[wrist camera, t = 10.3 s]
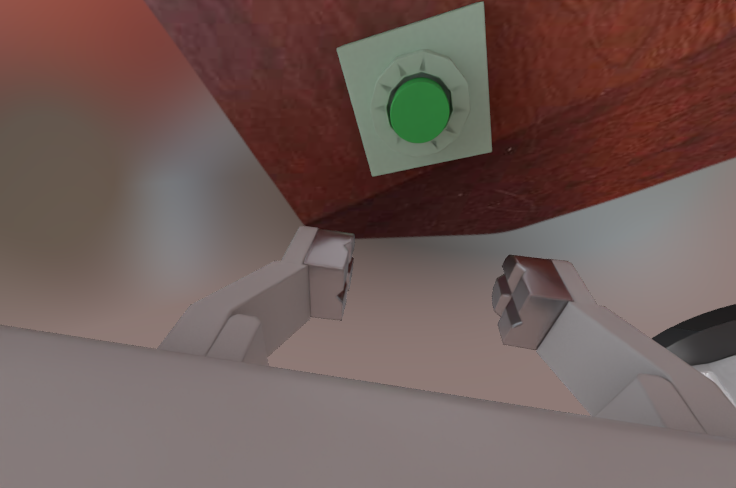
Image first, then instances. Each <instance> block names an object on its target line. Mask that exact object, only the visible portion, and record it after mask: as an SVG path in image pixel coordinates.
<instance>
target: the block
mask: <svg viewBox="0 0 736 488" xmlns="http://www.w3.org/2000/svg"><path fill="white" fill-rule="evenodd" d="M337 52H338V56H339V60H340V63H341V67H342V70H343V74H344V77H345V81H346V85H347V88H348V92H349V95H350V99H351V102H352V106H353V109H354V113H355V117H356V120H357V124H358V127H359V131H360V134H361V138H362V142H363V145H364V149H365V152H366V156H367V159H368V163H369V166H370V170H371V174H372V176H378V175H383V174H387V173H392V172H397V171H402V170H407V169H412V168H416V167H421V166H426V165H431V164H436V163H441V162H446V161H450V160H455V159H460V158H465V157H470V156H475V155H479V154H484V153H489V152H492V142H491V124H490V105H489V87H488V68H487V50H486V31H485V13H484V2H477V3H473V4H470V5H467V6H464V7H461V8H458V9H455V10H452V11H448V12H445V13H442V14H439V15H436V16H433V17H430V18H427V19H423V20H420V21H417V22H414V23H411V24H408V25H405V26H402V27H399V28H395V29H392V30H389V31H386V32H383V33H380V34H377V35H374V36H370V37H367V38H364V39H361V40H358V41H355V42H352V43H349V44H345V45H342V46H340V47H338V48H337ZM420 77H423V78H429V79H432V80H434V81H435V82H437V83H438V84H439V85H440V86H441V87H442V88H443V90H444V91H445V93H446V96H447V99H448V102H449V106H450V114H449V119H448V122H447V125H446V127H445V128H444V130H443V131H442V132H441V133H440V134H439V135H438V136H437V137H436V138H434V139H433V140H431V141H428V142H425V143H411V142H408V141H405V140H404V139H402V138H401V137H400V136H399V135H397V133H396V132H395V130H394V129H393V127H392V124H391V120H390V109H391V104H392V100H393V97H394V95H395V93H396V92H397V90H398V89H399V88H400V86H402V85H403V84H404V83H405V82H407V81H409V80H411V79H414V78H420Z"/></svg>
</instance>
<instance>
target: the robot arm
mask: <svg viewBox="0 0 736 488" xmlns="http://www.w3.org/2000/svg"><path fill="white" fill-rule="evenodd" d="M354 245H355V234H354V233H348V232H342V231H335V230H329V229H322V228H316V227H308V226H301V227H299V228H298V230H297V232H296V234H295V236H294V237H293V239H292V241H291V243H290V245H289V247H288V249H287V251H286V252H285V254H284V256H283V258H282V260H281V261H274V262H272V263H270V264H268V265H266V266H264V267H262V268H260V269H258V270H256V271H255V272H252V273H251V274H249V275H247V276H245V277H243V278H241V279H239V280H237V281H235V282H234V283H231V284H230V285H228V286H226V287H224V288H222V289H220V290H218V291H216V292H214V293H212V294H210V295H209V296H207V297H205V298H203V299H201V300H199V301H197V302H195V303H193V304H191V305H190V306H189V308H188V309H187V310H186V311H185V313H184V314H183V316H182V317H181V318H180V319H179V321H178V322H177V323H176V325H175V326H174V327H173V329H172V330H171V331H170V333H169V334H168V335H167V337H166V338H165V339H164V340H163V342H162V343H161V344H160V346H159V347H158V348H157V349H154V348H147V347H141V346H134V345H128V344H122V343H115V342H109V341H102V340H95V339H89V338H82V337H76V336H70V335H63V334H57V333H50V332H44V331H37V330H31V329H24V328H18V327H12V326H5V325H0V488H736V355H734V356H731V357H728V358H725V359H721V360H718V361H715V362H712V363H708V364H701V365H694V366H690V365H689V364H687V363H686V362H684V361H683V360H682V359H680V358H679V357H677V356H676V355H674V354H673V353H671V352H670V351H669V350H667V349H666V348H664V347H663V346H661V345H660V344H658V343H657V342H655V341H654V340H653V339H651V338H650V337H648V336H647V335H645V334H644V333H642V332H641V331H640V330H638V329H637V328H635V327H634V326H632V325H631V324H629V323H628V322H627V321H625V320H623V319H622V318H621V317H619V316H618V315H616V314H615V313H613V312H612V311H611V310H609V309H607V308H606V307H605V306H599V305H597V303H596V301H595V300H594V298H593V297H592V295H591V293H590V292H589V290H588V289H587V287H586V285H585V284H584V282H583V281H582V279H581V278H580V276H579V274H578V273H577V271H576V269H575V268H574V266H573V265H572V264H571V263H570V262H568V261H562V260H553V259H541V258H532V257H524V256H516V255H508V257H507V258H506V259H505V261H504V263H503V266H502V267H503V270H504V274H503V275H501V276H500V277H498V278H497V279H496V282H495V285H494V287H493V293H492V304H493V308H494V311H495V312H496V313H497V314H498V315H499V316H500V317H501V318H500V320H499V322H498V327H499V331H500V335H501V338H502V342H503V344H504V345H509V346H516V347H521V348H527V349H533V350H537V351H536V352H537V353H538V355H539V356H540V357H541V358H542V359H543V360H544V362H545V363H546V364H547V365H548V366H549V367H550V368H551V369H552V371H553V372H554V373H555V374H556V375H557V377H558V378H559V379H560V380H561V381H562V382H563V383H564V385H565V386H566V387H567V388H568V389H569V390H570V392H571V393H572V394H573V395H574V396H575V397H576V398H577V399H578V401H579V402H580V403H581V404H582V405H583V407H584V408H585V409H586V410H587V411H588V412H589V413H590V415H591V416H586V415H579V414H573V413H567V412H560V411H554V410H547V409H541V408H534V407H528V406H521V405H515V404H508V403H502V402H496V401H489V400H482V399H476V398H469V397H463V396H457V395H451V394H444V393H437V392H431V391H425V390H418V389H412V388H405V387H399V386H393V385H386V384H380V383H373V382H367V381H361V380H354V379H347V378H341V377H334V376H328V375H322V374H315V373H309V372H302V371H296V370H290V369H283V368H277V367H270V366H269V364H268V359H267V357H268V356H270V355H271V354H272V353H273V352H274V351H275V350H276V349H277V348H278V347H280V345H282V344H283V343H284V342H285V341H286V340H287V339H288V338H290V337H291V336H292V335H293V334H294V333H295V332H296V331H297V330H298V329H299V328H301V327H302V326H303V325H304V324H305V323H306V322H307V321H308V320H309V319H310V317H315V318H323V319H332V320H340V321H342V317H343V312H344V309H345V305H346V295H347V291H349V287H350V283H351V277H352V270H353V257H352V254H353V250H354Z"/></svg>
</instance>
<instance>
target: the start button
mask: <svg viewBox="0 0 736 488" xmlns="http://www.w3.org/2000/svg"><path fill="white" fill-rule="evenodd" d="M449 114H450V106H449V102H448V99H447V96H446V93H445V91H444V90H443V88H442V87H441V86H440V85H439V84H438V83H437V82H435V81H434V80H432V79H429V78H423V77H420V78H414V79H411V80H409V81H407V82H405V83H404V84H403V85H402V86H400V88H399V89H398V90H397V92H396V93H395V95H394V97H393V100H392V104H391V109H390V120H391V124H392V127H393V129H394V130H395V132H396V133H397V135H399V136H400V137H401V138H402V139H404V140H405V141H408V142H411V143H425V142H428V141H431V140H433V139H434V138H436V137H437V136H438V135H439V134H440V133H441V132H442V131H443V130H444V128H445V127H446V125H447V122H448V119H449Z"/></svg>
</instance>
